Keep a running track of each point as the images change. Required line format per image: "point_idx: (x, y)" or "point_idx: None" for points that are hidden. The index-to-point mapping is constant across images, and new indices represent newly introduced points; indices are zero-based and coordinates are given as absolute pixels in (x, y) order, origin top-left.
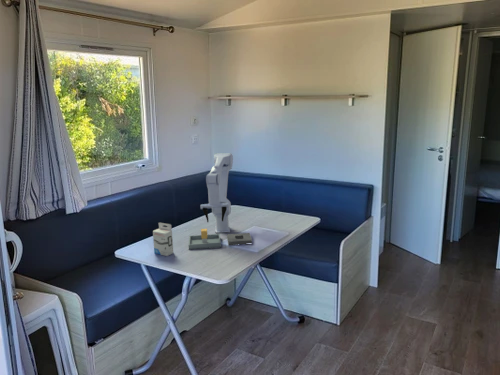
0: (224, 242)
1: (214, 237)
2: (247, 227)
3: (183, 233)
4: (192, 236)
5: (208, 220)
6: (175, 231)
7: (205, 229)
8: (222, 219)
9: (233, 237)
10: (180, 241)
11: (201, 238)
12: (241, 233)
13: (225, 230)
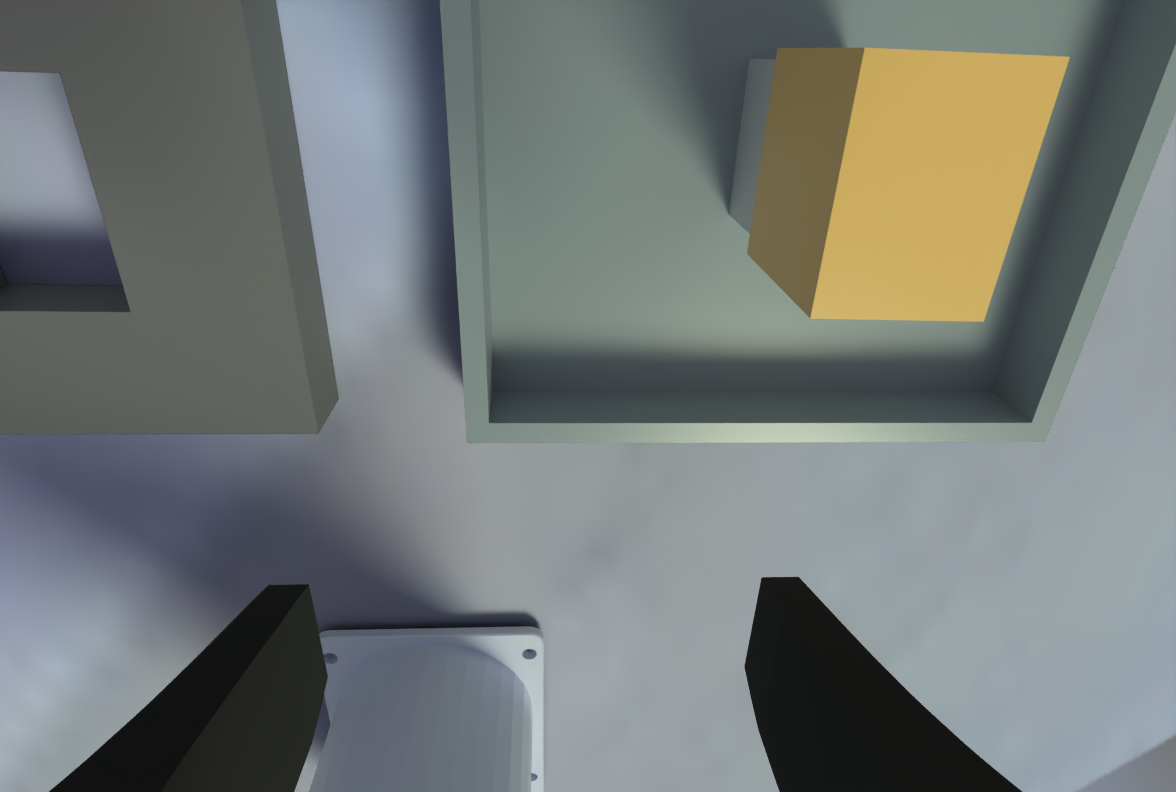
0: (376, 154)
1: (571, 394)
2: (71, 761)
3: (987, 673)
4: (989, 417)
5: (782, 619)
6: (1059, 744)
7: (875, 239)
8: (254, 627)
9: (143, 212)
10: (1146, 375)
11: (807, 394)
12: (16, 431)
13: (382, 662)
